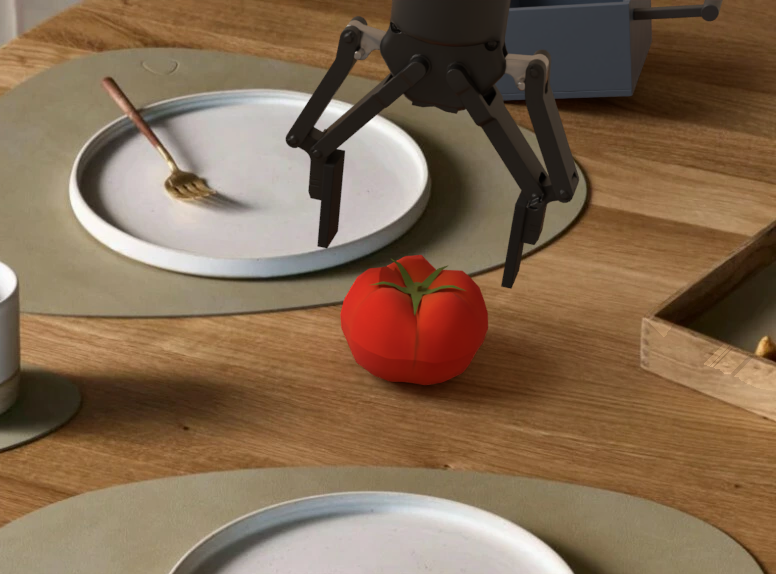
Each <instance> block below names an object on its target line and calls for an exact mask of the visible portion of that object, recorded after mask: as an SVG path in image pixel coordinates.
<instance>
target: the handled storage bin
mask: <svg viewBox="0 0 776 574" xmlns="http://www.w3.org/2000/svg"><path fill="white" fill-rule="evenodd" d="M723 2H724V1H723V0H704V1H703V4H688V5H687V4H686V5H685V4H684V5H669V6H652V0H511V1H510V8H509V14H508V21H507V27H506V34H505V45H506V48H507V51H508V54H519V55H534V53H535V52H536V51H538V50H542V49H543V50H546V51H547V52H549V54H550V55H551V70H550V86H551V89H552V92H553V96H554V99H555V100H556V99H557V100H560V99H561V100H563V99H583V98H584V99H586V98H587V99H588V98H591V99H593V98H615V97H617V98H618V97H619V98H620V97H633V96H634V93H635V90H636V88H637V85H638V82H639V79H640V76H641V73H642V70H643V67H644V65H645V62H646V59H647V57H648V54H649V51H650V48H651V45H652V43H653V26H652V25H653V22H652V21H653V20H669V19H684V18H686V19H687V18H701V19H703V20H704V21H706V22H714V21H715V20H717V18H718V17H719V15H720V11H721V6H722V4H723ZM495 85H496V87H497V88H498V90H499V91H500V93H501V95H502V97H503V102H506V101H525V91H521V90H519V89H518V88H517V87H516V85H515V81H514V79H513V77H512V76H511V75H509V74H504V75H503V76H502V78H501V79H500V80H499V81H497V82H496V83H495Z"/></svg>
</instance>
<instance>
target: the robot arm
mask: <svg viewBox="0 0 776 574" xmlns="http://www.w3.org/2000/svg"><path fill="white" fill-rule="evenodd" d="M510 1H511V0H391V6H390V8H391V9H390V19H389V25H388V28H387V30H383V29H380V28H377V27H373V26H369V25H368V22H367V20H366V19H365V18H364V16H361V15H360V16H359V15H355V16H353V18H351V20H350V21H349V22H348V23H347V25H346V26H345V27H344V28H343V30H342V31H341V32H340V34H339V39H338V44H337V50H336V54H335V58H334V61H333V62H332V63H331V65H330V67H329V68H328V70H326V73H325V74H324V76H323V77H322V79H321V81H320V82H319V84H318V85H317V87H316V89H314V91H313V93H312V94H311V96H310V97H309V99H308V101H307V102H306V104H305V105H304V107H303V108H302V110H301V111H300V114H299V115H298V116H297V118H296V120H295V121H294V123H293V125H292V126H291V127H290V129H289V130H288V132H287V134H286V135H285V143H286V145H287V146H288V147H290V148H291V149H298V148H299V149H300V150H302V151H304V152H305V153H306V154H307V155H308V156H309V162H310V164H309V176H308V177H309V178H308V190H307V191H308V194H309V198H310V199H311V200H312V199H313V200H317V201H320V208H319V219H318V220H319V221H318V232H317V233H318V234H317V244H316V245H317V247H318V248H322V249H328V248H329V247H330V245H331V243H332V242H333V240H334V239H335V237H336V236H337V234H338V232H339V226H340V225H339V224H340V214H341V213H340V212H341V203H342V191H343V182H344V181H343V180H344V169H345V157H346V150H344V149H340V148H339V147H341V146H342V145H343V144H344V143H346V141H348V140H349V139H351V138H352V137H353V135H355V134H356V133H357V132H358V131H360V130H361V129H362V128H363V127H364V126H365V125H367V124H368V123H369V122H370V121H371V120H373V119H374V118H375V117H376V116H377V115H379V114H380V113H381V112H382V111H383V110H384V109H387V108H389V106H391V105H392V104H393V103H394V102H395V101H397V100H398V99H399V98H401V97H402V96H404V97H405V99H407V100H408V101H409V102H411V106H414V107H420V108H437V109H439V110H441V111H443V112H445V113H449V114H450V113H451V114H455V115H457V114H458V112H461V111H465V110H466V111H467V113H468V115H469V116H470V118H471V119H472V121H473V122H474V124H475V126H477V127H480V128H481V129H482V131H483V132H484V134H485V136H486V137H487V139H488V140H489V142H490V143H491V145H492V147H493V148H494V150H495V151H496V154H498V156H499V158H500V159H501V161H502V163H503V164H504V166H505V167H506V168H507V171H508V172H509V174H510V175H511V177H512V178H513V180H514V182H515V183H516V185H517V187H518V188H519V189H520V192H519V195H518V197H517V199H516V202H515V203H514V210H513V214H512V221H511V226H510V231H509V232H510V233H509V239H508V244H507V248H506V249H507V250H506V255H505V261H504V268H503V274H502V279H501V283H500V284H501V285H500V287H502V288H506V289H511V290H512V289H513V287H514V283H515V281H516V279H517V277H518V274H519V272H520V268H521V263H522V257H523V252H524V246H525V244H527V245H531V246H535V245H536V244H537V243H538V241H539V239H540V236H541V235H542V232H543V228H544V223H545V217H546V212H547V207H548V204H550V203H552V202H559V203H562V204H567V203H569V202H571V201H572V200H573V198H574V195H575V193H576V190H577V188H578V185H579V182H580V176H579V172H578V169H577V167H576V164H575V159H574V156H573V152H572V151H571V147H570V144H569V140H568V137H567V134H566V131H565V129H564V124H563V122H562V118H561V115H560V112H559V109H558V105H557V102H556V99H554V96H553V92H552V89H551V86H550V70H551V55H550V54H549V52H547V51H546V50H543V49H542V50H538V51H536V52H535V53H534V55H519V54H508V51H507V48H506V45H505V34H506V27H507V21H508V14H509V8H510ZM373 51H379V52H380V56H381V57H382V60H383V61H384V63H385V65H386V67H387V68H388V70H389V73H388V74H387V75H386V76H385V77H383V79H382V80H381V81H380V82H379V83H378V84H377V85H375V86H374V87H373V88H372V89H370V91H368V92H367V94H365V95H364V96H363V97H362V98H360V99H359V100H358V101H357V102H356V103H354V104H353V105H352V106H351V107H350V108H348V110H346V111H345V112H344V113H343V114H342V115H341V116H340V117H338V118H337V119H336V120H334V122H333V123H331V124H330V125H329V126H328V127H327V128H323V131H322V130H321V129H318V128H317V127H315V126H316V124H317V123H318V121H320V119H321V117H322V115H323V113H324V112H325V111H326V109H327V108H328V106H329V105H330V103H331V101H332V100H333V98H334V97H335V95H336V94H337V92H338V91H339V89H340V88H341V86H342V85H343V83H344V81H345V80H346V79H347V77H348V75H349V74H350V73H351V71H352V69H353V68H354V66H355V65H356V64H357V62H358V61H365V60H367V59H368V57H369V56H370V55H371V53H372V52H373ZM504 74H509V75H511V76H512V77H513V79H514V81H515V85H516V87H517V88H518V89H519V90H521V91H525V100H524V102H525V106H526V110H527V114H528V116H529V119H530V122H531V125H532V128H533V131H534V135H535V137H536V140H537V145H538V147H539V151H540V153H541V157H542V160H543V162H544V166H545V167H544V166H543V164H542V163H541V161H540V160H539V158H538V156H537V155H536V153H535V151H534V150H533V148H532V147H531V145H530V143H529V142H528V140H527V138H526V137H525V136H524V134H523V132H522V131H521V129H520V128H519V126H518V124H517V123H516V121H515V120H514V118H513V116H512V115H511V113H510V111H509V110H508V108H507V106H506V105H505V101H503V97H502V95H501V93H500V91H499V90H498V88H497V87H496V85H495V83H496V82H497V81H499V80H500V79H501V78H502V76H503V75H504ZM545 168H546V169H545Z"/></svg>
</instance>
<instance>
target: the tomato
mask: <svg viewBox="0 0 776 574" xmlns="http://www.w3.org/2000/svg"><path fill="white" fill-rule="evenodd" d="M390 260H391V261H392V263H390V264H388V265H385V266H381V267H379V266H378V267H369V268H368V269H366V270H365V271H363V272H362V273H361V274H359V275H358V276H357V277H356V279H355V280H354V281H353V284H352V285H351V287H350V288H349V290H348V292H347V293H346V295H345V297H344V299H343V302H342V306H341V310H340V314H339V315H340V326H341V327H340V328H341V331H342V334H343V336H344V338H345V340H346V343H347V345H348V348H349V350H350V352H351V355H352V356H353V358H354V361H355V363H356V364H358V365H359V366H360V367H362V368H363V369H364V370H365V371H366V372H368V373H370V374H371V375H373V377H376V378H379V379H381V380H384V381H388V382H393V383H409V384H415V385H421V386H430V385H437V384H441V383H444V382H447V381H449V380H451V379H453V378H455V377H458V376H460V375H462V374H464V372H465V371H466V370H467V368H469V366H470V364H471V363H472V361H473V359H474V358H475V355H476V354H477V352H478V351H479V349H480V347H481V346H483V344H484V341H485V340H486V336H487V333H488V331H489V311H488V308H487V305H486V302H485V298H484V296H483V293H482V290H481V287H480V286H479V285H478V284H477V283H476V282H475V281H474V279H472V277H471V276H470V275H469V274H467V273H466V272H465V271H463V270H458V269H446V268H448V267H449V265H450V264H448V265H445V266H442V267H438V268H437V269H436V268H435V267H434V266H433V265H432V264H431V263H430V261H428V259H426V258H425V257H424V255H422V254H415V255H405V256H403V257H401V258H399V259H397V260H395V259H393V258H390Z"/></svg>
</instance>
